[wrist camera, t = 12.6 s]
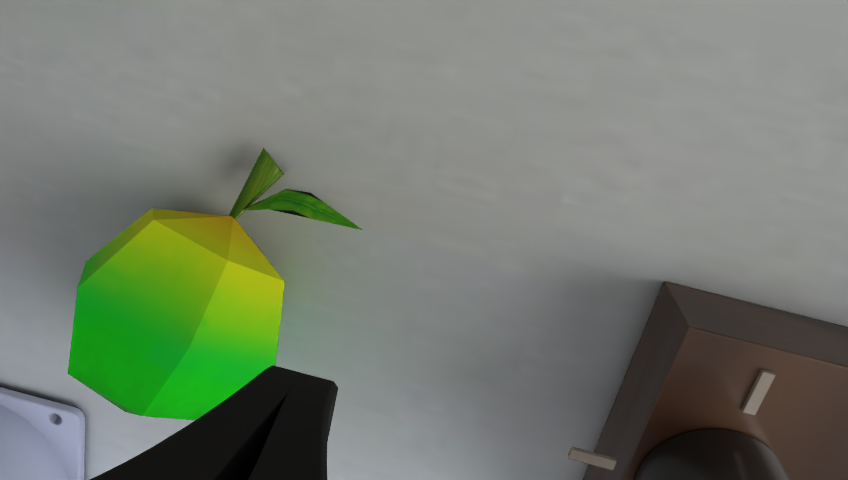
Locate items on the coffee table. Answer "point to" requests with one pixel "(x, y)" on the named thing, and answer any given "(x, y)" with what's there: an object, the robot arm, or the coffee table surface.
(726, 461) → the knob
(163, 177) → the coffee table surface
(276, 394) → the robot arm
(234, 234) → the apple
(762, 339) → the dial panel
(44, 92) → the coffee table surface
